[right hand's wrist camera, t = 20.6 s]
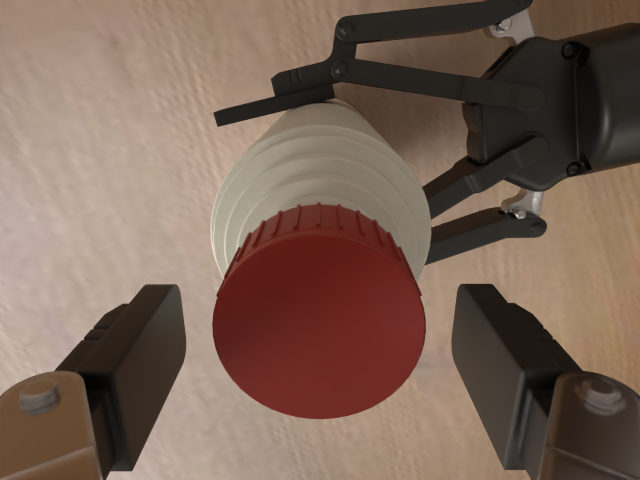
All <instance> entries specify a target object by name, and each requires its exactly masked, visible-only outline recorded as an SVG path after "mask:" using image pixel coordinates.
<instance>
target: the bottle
mask: <svg viewBox="0 0 640 480" xmlns="http://www.w3.org/2000/svg"><path fill="white" fill-rule="evenodd" d="M317 202H321V204H325V205H334V206H337V204H340V205H341V207H344V208H348V209H351V210H354V211H357V210H359V211H360V212H361V214H363V215H365V216H366V217H368V218H370V219H371V220H374V219H375V220H377V222H378V225H379V226H381V227H382V228H383V229H384V230H385V231H386V232H387V233H388V232H390V233H391V234H392V237H393V239H394V241H395V243H396V245H397V246H398V247H401V248H402V250H403V253H404V255H405V257H406V259H407V262H408V264H409V266H410V268H411V270H412V273H413V275H414V278H415V280H416V282H417V281H418V279H419V277H420V274H421V272H422V269H423V267H424V265H425V262H426V260H427V256H428V252H429V248H430V240H431V217H430V211H429V205H428V202H427V199H426V196H425V193H424V191H423V189H422V186H421V184H420V182H419V180H418V179H417V177H416V176H415V174H414V173H413V171H412V170H411V168H410V167H409V166H408V165H407V163H406V162H405V161H404V160H403V159H402V158H401V157H400V156H399V155H398V154H397V152H396V151H395V150H394V149H393V148H392V147H391V146H390V145H389V144H388V143H387V142H386V141H385V140H384V139H383V138H382V137H381V136H380V134H379V133H378V132H377V131H376V130H375V129H374V128H373V127H372V126H371V125H370V124H369V123H368V122H367V121H366V120H365V119H364V118H363V116H362V115H361V114H360V113H359V112H358V111H357V110H356V109H355V108H353V107H352V106H351V105H349V104H348V103H346V102H344V101H342V100H339V99H336V98H334V99H330V100H326V101H322V102H318V103H314V104H309V105H305V106H301V107H297V108H293V109H289V110H288V111H287V112H286V113H285V114H284V115H283V116H282V117H281V118H280V119H279V120H278V121H277V122H276V123H275V124H274V125H273V126H272V127H271V128H270V129H268V130H267V131H266V132H265V133H264V134H263V135H262V136H261V137H260V138H259V139H258V140H257V141H256V142H255V143H254V144H253V145H252V146H251V147H250V148H249V149H248V150H247V151H246V152H245V153H244V154H243V155H242V156H241V157H240V158H239V159H238V160H237V161H236V163H235V164H234V165H233V166H232V168H231V169H230V170H229V172H228V173H227V174H226V176H225V178H224V180H223V182H222V183H221V185H220V187H219V189H218V192H217V195H216V198H215V200H214V204H213V209H212V214H211V226H210V232H211V243H212V248H213V253H214V257H215V260H216V262H217V265H218V268H219V270H220V273H221V275H222V277H223V279H224V275H225V273H226V271H227V269H228V267H229V265H230V263H231V261H232V259H233V257H234V255H235V253H236V251H237V249H238V247H240V248H241V247H242V245H243V243H244V241H245V239H246V237H247V234H248V233H249V232H250V233H252V232H253V231H254V230H255V229H256V228H258V227H259V226H260V224H261V221H262V220H265V221H266V220H268V219H269V218H271V217H273V216H275V215H277V213H278V211H280V210H282V212H283V211H286V210H288V209H291V208H295V207H297V205H299V204H301V206H304V205H314V204H317Z"/></svg>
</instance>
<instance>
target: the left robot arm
mask: <svg viewBox="0 0 640 480" xmlns="http://www.w3.org/2000/svg"><path fill="white" fill-rule="evenodd" d="M532 1H533V0H485V1H483V2H476V3H466V4H457V5H447V6H438V7H428V8H419V9H409V10H400V11H390V12H381V13H371V14H362V15H352V16H345V17H342V18H341V19H340V20H339V21H338V23H337V25H336V28H335V34H334V42H333V50H332V53H331V55H330V57H329V58H328V59H327V60H325V61H323V62H320V63H316V64H312V65H308V66H304V67H300V68H296V69H292V70H288V71H284V72H280V73H278V74H277V75H275V76H274V77H273V78H271V82H272V86H273V89H274V93H275V97H271V98H267V99H263V100H259V101H254V102H250V103H246V104H242V105H238V106H234V107H230V108H226V109H223V110H220V111H217V112H214V116H215V120H216V123H217V126H218V127H219V126H223V125H227V124H231V123H235V122H239V121H243V120H248V119H252V118H256V117H260V116H264V115H268V114H272V113H276V112H281V111H285V110H289V109H293V108H297V107H301V106H305V105H309V104H314V103H318V102H322V101H326V100H330V99H334V98H335V95H334V91H333V86H332V84H335V83H339V82H346V83H353V84H359V85H365V86H372V87H378V88H385V89H391V90H397V91H404V92H410V93H417V94H423V95H429V96H436V97H442V98H449V99H455V100H461V101H465V103H462V110H463V117H464V120H465V122H466V125H467V127H468V136H467V143H466V144H467V153H468V155H467V156H465V157H464V158H462V159H461V160H459V161H458V162H456V163H455V164H454V166H453V167H452V168H451V169H450V170H448V171H447V172H445V173H443V174H442V175H440V176H439V177H437V178H436V179H434V180H432V181H431V182H429V183H428V184H426V185H425V186H423V187H422V189H423V191H424V193H425V196H426V199H427V202H428V205H429V211H430V217H431V220H432V219H433V218H435V217H436V216H438V215H440V214H441V213H443V212H445V211H446V210H448V209H449V208H451V207H453V206H454V205H456V204H457V203H459V202H461V201H462V200H464V199H466V198H467V197H469V196H470V195H472V194H474V193H480V192H483V191H485V190H487V189H488V188H490V187H492V186H493V185H495V184H496V183H498V182H500V181H501V180H505V181H508V182H510V183H512V184H514V185H517V186H519V187H521V189H520V191H519V193H518V194H517V195H516V196H514V197H511V198H508V199H506V200H503V201H502V203H501V207H495V208H489V209H485V210H481V211H478V212H475V213H473V214H470V215H467V216H464V217H461V218H458V219H455V220H452V221H449V222H446V223H444V224H441V225H438V226H435V227H432V228H431V240H430V248H429V252H428V256H427V260H426V262H425V265H427V264H430V263H433V262H436V261H439V260H442V259H445V258H448V257H451V256H454V255H457V254H460V253H463V252H466V251H469V250H472V249H475V248H478V247H481V246H484V245H487V244H490V243H493V242H496V241H499V240H502V239H505V238H535V237H539V236H541V235H543V234H544V233H545V231H546V229H547V224H546V222H545V221H544V220H543V219H541V218H540V211H541V205H542V199H543V193H544V191H546V190H548V189H550V188H552V187H553V186H554V185H555V184H557V183H558V182H560V181H562V180H563V179H566V178H569V177H573V176H579V175H585V174H590V173H594V172H599V171H603V170H608V169H613V168H617V167H622V166H626V165H631V164H636V163H640V22H639V23H626V24H622V25H618V26H614V27H610V28H605V29H601V30H597V31H593V32H589V33H585V34H581V35H577V36H573V37H568V38H564V39H560V40H549V39H546V38H544V37H539V36H535V34H534V30H533V26H532V23H531V19H530V16H529V12H528V7H529V6H530V5H531V3H532ZM481 28H483V30H484V33H485V35H486V36H487V37H488V38H490V39H496V38H504V39H506V40H507V41H508V42H509V44H510V47H509V48H508V49H507V50H506V51H505V52H504V53H503V54H502V55H501V56H500V57H499V58H498V59H497V60H496V61H495V63H494V64H493V65H492V66H491V67H490V68H489V69H488V70H487V71H486V72H485V73H484V74H483V75H482V76H481V77H480V78H475V77H468V76H460V75H454V74H447V73H441V72H435V71H428V70H422V69H416V68H409V67H403V66H397V65H390V64H384V63H378V62H372V61H365V60H359V59H355V54H356V46H357V44H361V43H371V42H381V41H390V40H400V39H410V38H420V37H429V36H439V35H449V34H458V33H465V32H470V31H474V30H478V29H481Z"/></svg>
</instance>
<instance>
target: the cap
mask: <svg viewBox="0 0 640 480" xmlns="http://www.w3.org/2000/svg"><path fill="white" fill-rule="evenodd" d="M420 296H422V294H421V291H420V289H419V287H418V285H417V283H416V280H415V278H414V275H413V273H412V270H411V268H410V266H409V264H408V262H407V259H406V257H405V255H404V253H403V250H402V248H401V247H398V246H397V245H396V243H395V241H394V239H393V237H392V234H391V233H390V232H388V233H387V232H386V231H385V230H384V229H383V228H382V227H381V226H379V225H378V222H377V220H375V219H374V220H371V219H370V218H368V217H366V216H365V215H363V214H361V212H360V211H359V210H357V211H354V210H351V209H348V208H344V207H341V205H340V204H337V206H334V205H325V204H321V202H317V204H314V205H304V206H301V204H299V205H297V207H295V208H291V209H288V210H286V211H283V212H282V210H280V211H278V213H277V215H275V216H273V217H271V218H269V219H268V220H266V221H265V220H262V221H261V224H260V226H259V227H258V228H256V229H255V230H254V231H253V232H252V233H250V232H249V233H248V234H247V237H246V239H245V241H244V243H243V245H242V247H241V248H240V247H238V249H237V251H236V253H235V255H234V257H233V259H232V261H231V263H230V265H229V267H228V269H227V271H226V273H225V275H224V280H223V282H222V285H221V287H220V289H219V291H218V293H217V297H218V298H217V300H216V304H215V308H214V313H213V324H212V325H213V338H214V343H215V347H216V350H217V353H218V356H219V359H220V361H221V363H222V365H223V366H224V368H225V370H226V372H227V373H228V374H229V376H230V377H231V379H232V380H233V381H234V382H235V383H236V384H237V385H238V386H239V387H240V389H241V390H243V391H244V392H245V393H246V394H247V395H249V396H250V397H251V398H253V399H254V400H256V401H257V402H259V403H261V404H262V405H264V406H266V407H268V408H270V409H272V410H275V411H278V412H281V413H283V414H287V415H291V416H295V417H301V418H308V419H330V418H338V417H344V416H349V415H352V414H356V413H359V412H362V411H364V410H366V409H369V408H371V407H373V406H375V405H377V404H378V403H380V402H382V401H384V400H385V399H386V398H388V397H389V396H390V395H392V394H393V393H394V392H395V391H396V390H397V389H398V388H400V387H401V386H402V384H403V383H404V382H405V381H406V380H407V378H408V377H409V376H410V374H411V373H412V371H413V370H414V368H415V366H416V364H417V362H418V360H419V358H420V355H421V352H422V349H423V345H424V340H425V333H426V319H425V313H424V307H423V304H422V301H421V298H420Z"/></svg>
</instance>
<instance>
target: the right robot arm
mask: <svg viewBox="0 0 640 480" xmlns="http://www.w3.org/2000/svg"><path fill="white" fill-rule="evenodd" d="M451 343H452V355H453V359H454V362H455V365H456V367H457V369H458V371H459V373H460V376H461V378H462V380H463V382H464V384H465V386H466V388H467V391H468V393H469V395H470V397H471V399H472V401H473V403H474V406H475V408H476V410H477V412H478V414H479V416H480V418H481V421H482V423H483V425H484V427H485V429H486V431H487V433H488V436H489V438H490V440H491V442H492V444H493V446H494V448H495V451H496V453H497V455H498V457H499V459H500V461H501V464H502V466H503V468H504V470H526V471H527V472H528V474H529V476H530V478H531V480H640V396H639V395H638V394H637V393H636V392H635V391H633V390H632V389H631V388H629V387H628V386H626V385H624V384H623V383H621V382H619V381H617V380H615V379H612V378H610V377H608V376H604V375H601V374H598V373H593V372H587V371H583V370H582V369H581V368H580V367H579V366H578V365H577V364H576V363H575V361H574V360H573V359H572V358H571V357H570V356H569V355H568V354H567V352H566V351H565V350H564V349H563V348H562V347H561V346H560V344H559V343H558V342H557V341H556V340H555V339H553V337H552V335H551V334H550V333H549V332H548V331H547V330H546V329H544V328H543V325H542V324H541V323H540V322H539V321H538V320H537V319H536V317H535V316H534V315H533V314H532V313H530V312H528V311H527V310H525V309H523V308H522V307H520V306H518V305H517V304H515V303H508V302H507V301H506V300H505V299H504V298H503V296H502V295H501V294H500V293H499V291H498V290H497V289H496V288H495V287H494V285H492V284H461V285H460V286H459V288H458V291H457V298H456V306H455V314H454V323H453V331H452V342H451ZM185 353H186V334H185V326H184V318H183V310H182V302H181V294H180V290H179V287H178V286H177V285H176V284H147V285H144V286H143V288H142V289H141V290H140V291H139V292H138V294H137V295H136V296H135V297H134V298H133V300H132V301H131V302H130V303H129V304H122V305H120V306H118V307H117V308H115V309H113V310H112V311H110V312H108V313H106V314H105V315H104V316H103V317H102V318H101V319H100V320H99V322H98V323H97V324H96V325H95V326H94V329H93V330H90V332H89V333H88V334H87V335H86V336H85V337H84V340H82V341H81V342H80V343H79V344H78V345H77V346H76V347H75V348H74V349H73V351H72V352H71V353H70V354H69V355H68V356H67V357H66V358H65V359H64V361H63V362H62V363H61V364H60V365H59V366H58V367H57V368H56V370H55V371H53V372H47V373H42V374H39V375H36V376H32V377H30V378H28V379H25V380H23V381H21V382H19V383H17V384H16V385H14V386H12V387H11V388H9V389H8V390H7V391H5V392H4V393H3V394H2V395H1V396H0V480H106V478H107V476H108V474H109V473H110V471H132V470H133V468H134V466H135V464H136V462H137V460H138V458H139V456H140V454H141V451H142V449H143V447H144V445H145V443H146V441H147V439H148V437H149V435H150V432H151V430H152V428H153V426H154V424H155V422H156V420H157V418H158V415H159V413H160V411H161V409H162V407H163V405H164V403H165V401H166V399H167V396H168V394H169V392H170V390H171V388H172V386H173V384H174V382H175V380H176V377H177V375H178V373H179V371H180V369H181V367H182V365H183V362H184V359H185Z"/></svg>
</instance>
